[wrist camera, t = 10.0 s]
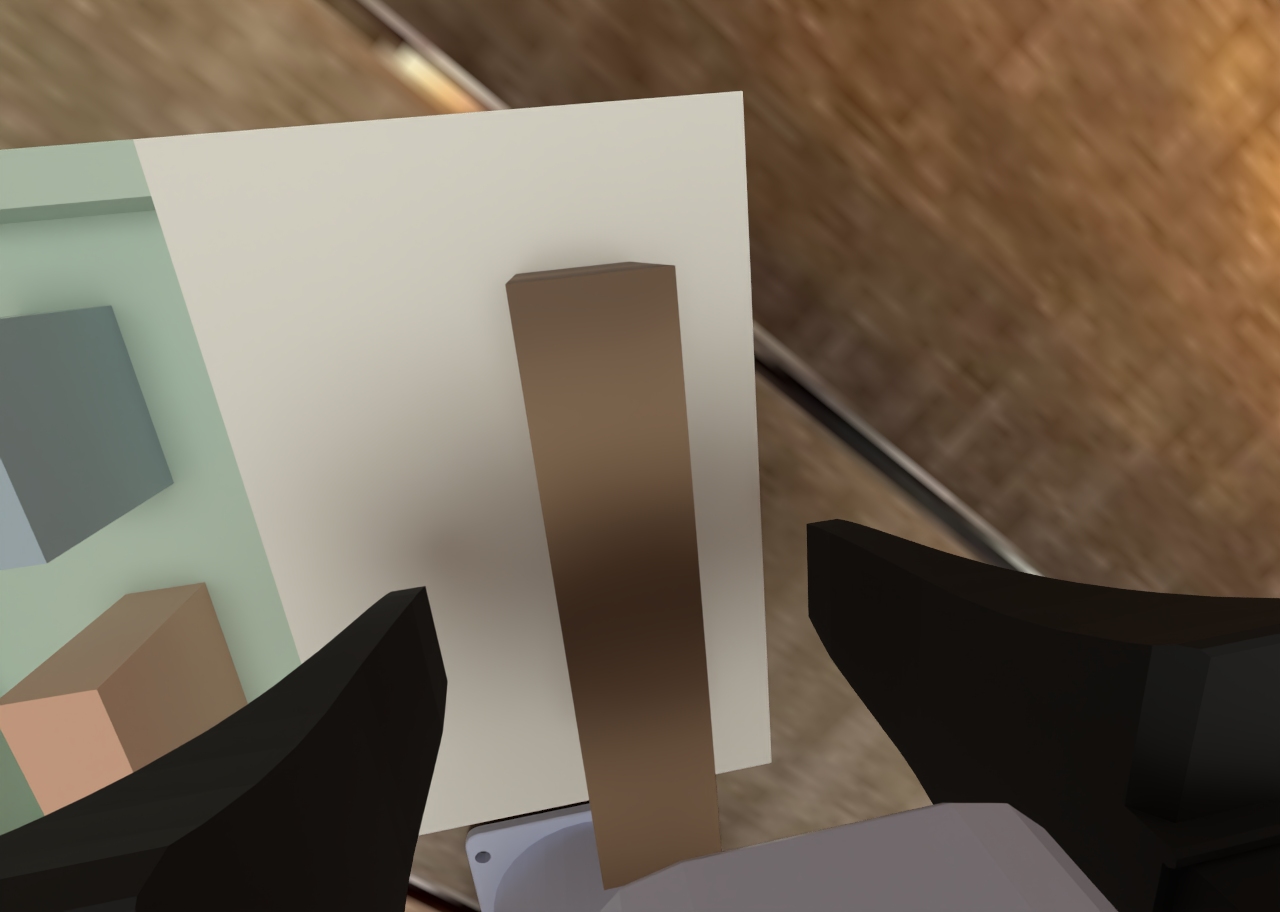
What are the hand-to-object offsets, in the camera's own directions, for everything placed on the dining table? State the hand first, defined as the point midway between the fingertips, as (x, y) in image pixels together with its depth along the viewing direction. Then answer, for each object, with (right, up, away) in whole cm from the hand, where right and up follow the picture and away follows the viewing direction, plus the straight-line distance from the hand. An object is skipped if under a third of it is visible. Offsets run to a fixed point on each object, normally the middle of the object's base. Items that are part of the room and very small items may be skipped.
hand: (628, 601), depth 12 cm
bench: (-3, +2, +7) cm, 8 cm away
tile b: (-12, +3, +2) cm, 12 cm away
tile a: (-11, -4, +4) cm, 12 cm away
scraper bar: (-1, +1, +4) cm, 4 cm away
